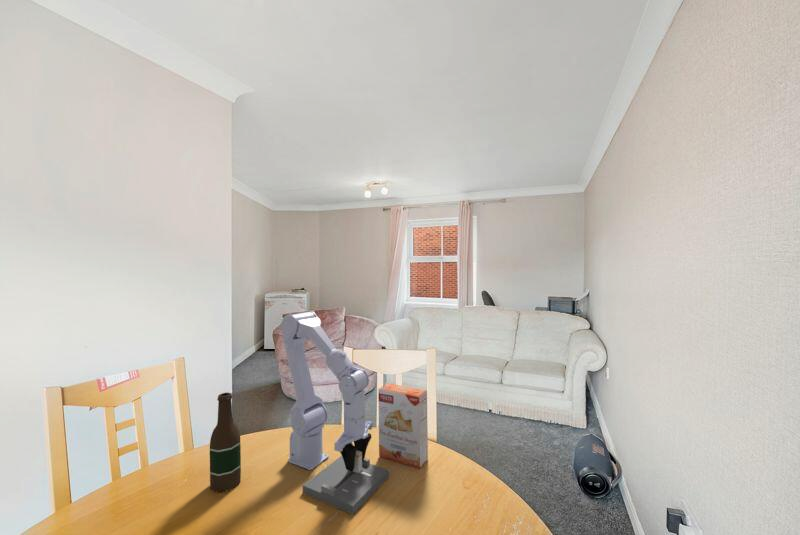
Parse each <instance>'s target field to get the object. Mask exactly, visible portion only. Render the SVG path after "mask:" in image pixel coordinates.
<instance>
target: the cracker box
mask: <svg viewBox="0 0 800 535" xmlns="http://www.w3.org/2000/svg"><path fill="white" fill-rule="evenodd" d="M377 390H378V392H377V393H378V456H379V457H382V458H383V459H384V458H385V459H388V460H392V461H395V462H398V463H401V464H404V465H408V466H410V467H414V468H416V469H421V468H422V467H423V465H424V464H425V463H426V461H428V459H429V450H428V447H429V442H428V440H429V439H428V438H429V437H428V436H429V435H428V434H429V432H428V390H425V389H419V388H415V387H409V386H404V385H403V386H402V385H398V384H393V383H386V384H384V385H383V386H381V387H379V388H378V389H377Z"/></svg>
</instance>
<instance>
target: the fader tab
mask: <svg viewBox="0 0 800 535" xmlns="http://www.w3.org/2000/svg"><path fill="white" fill-rule="evenodd" d="M361 471H362V452H361V451H356V455H355V464H354V470H353V472H356V473H360V472H361Z"/></svg>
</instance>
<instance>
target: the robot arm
mask: <svg viewBox="0 0 800 535" xmlns="http://www.w3.org/2000/svg"><path fill="white" fill-rule="evenodd" d="M321 325H322V324H321V318H319V317H318V315H317V314H316V313H315V311H312V310H308V311H306V312H300V313H294V314H286V315H285V316H284V317H283V319H282V320H281V323H280V324H279V326H280V331H281V335H282V339H283V344H284V349H285V353H286V358H287V363H288V367H289V373H290V376H291V381H292V386H293V389H294V394H295V399H296V401H295V403H294V404H293V406H292V407H291V409H290V415H291V419H290V420H291V421H290V426H291V428H292V431H291V433H290V436H289V458H288V459H287V462H288V463H290V464H293V465H295V466H298V467H301V468H303V469H307V470H309V471H312V470H313V469H315V468H316V467H317V466H319V465H321V464H322V463H323V462H324V461H325V460H327V459H328V458H329V456H330V455H329V454H327V453H324V452H323V448H324V447H323V429H324V427H325V423H327V420H328V418H329V414H328V410H327V407H326V406H325V405H324V401H323V398H322V397H320V396H318V395H316V393H315V390H314V385H313V380H312V377H311V373H310V368H309V365H308V360H307V356H306V350H305V346H304V344H305V342H306V341H307V339H310V341H311V342H312V343H313V344H314V345H315V346H316V347H317V348H318V350H319V351H320V352H321V353H322V354H323V355H324V357H325V364H326V366H327V367H328V368H329V369H330V371H331V373H332V374H333V375H334V376H335V378H336V379H337V380H338V382H339V383H338V389H339V391H340V393H341V398H342V401H343V432H342V433H341V435H340V436H339V438H338V439H337V440H336V441H335V442H334V451H335V452H338V453H340V454H341V455H340V456H342V457H343V460H344V463H345V467H346V470H349V471H353V470H354V464H355V455H356V451H361V452H362V462H364V458H366V453H367V448H368V446H369V444H370V441H371V439H372V433H369V432H368V431H369V430H371V431H372V429H373V421H370V420H366V402H365V400H366V395H365V392H366V390H365V389H366V388H367V387H369V382H370V380H369V376H368V373H367V372H366V370H365V369H363V368H359V367H358V366H356V365H354V363H353V362H352V360H351V359H350V357H348V355H347V353H346V352H345V351H344V350H342V349H338V348H336V346H335V345H334V344H333V342H332V341H331V340H330V337H328V335H327V334H326V331H325V330H324V329H323V328H322V326H321Z"/></svg>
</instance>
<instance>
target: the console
mask: <svg viewBox="0 0 800 535" xmlns="http://www.w3.org/2000/svg"><path fill="white" fill-rule="evenodd" d="M389 472H390V471H389V469H387V468H384V467H381V466H377V465H374V464H371V459H370V458H367V457H365V458H364V462H362V471H361V472H360V473H356V472H353V471H349V470H346V467H345V463H344V460H343V457H342V455H340V456H339V457H338V458H337V459H335V460H334V461H333V462H331V463H330V464H329V465H327V466H326V467H325V468H324V469H322V470H321V471H320V472H318V473H317V474H315V475H314V476H313V477H311V478H310V479H309V480H307V481H306V482H305V483H303V484H302V494H303V495H306V496H309V497H311V498H313V499H315V500H318V501H319V502H323V503H325V504H327V505H330V506H331V507H334V508H336V509H339V510H342V511H343V512H346V513H348V514H350V515H354V514H355V513H357V511H358V510H359V509H360V508H361V507H362V506H363V505H364V504H365V502H367V501H368V500H369V499H370V497H372V496H373V495H374V494H375V492H376V491H377V490H378V489H379V488H381V486H382V485H383V484H384V483H385V482H386V481H387V479H389V478H390V477H389V475H390V473H389Z"/></svg>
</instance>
